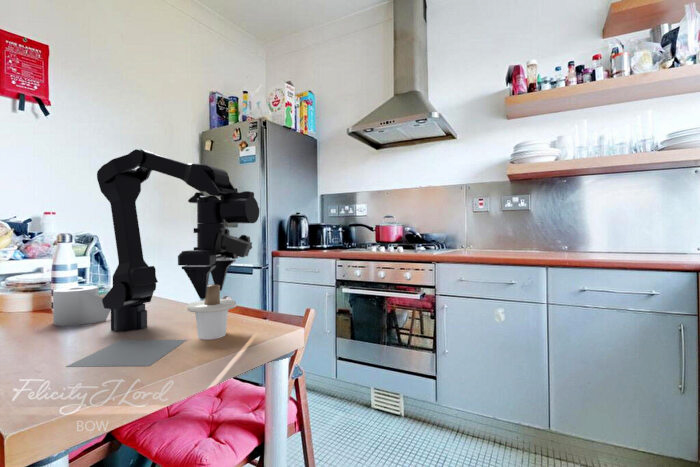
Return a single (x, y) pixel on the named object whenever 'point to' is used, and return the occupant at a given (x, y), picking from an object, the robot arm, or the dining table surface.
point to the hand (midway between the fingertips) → (211, 294)
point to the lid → (211, 302)
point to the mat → (129, 353)
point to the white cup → (211, 324)
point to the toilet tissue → (78, 306)
